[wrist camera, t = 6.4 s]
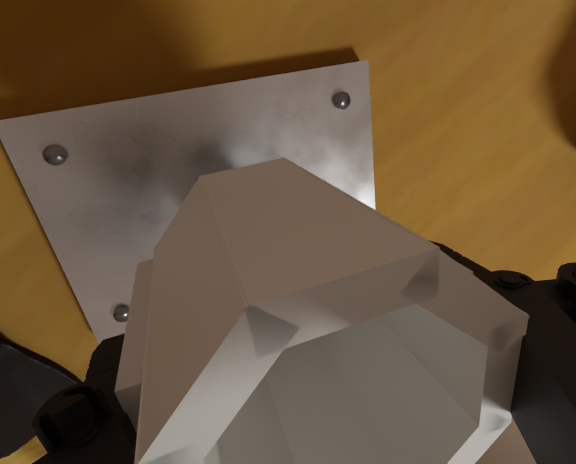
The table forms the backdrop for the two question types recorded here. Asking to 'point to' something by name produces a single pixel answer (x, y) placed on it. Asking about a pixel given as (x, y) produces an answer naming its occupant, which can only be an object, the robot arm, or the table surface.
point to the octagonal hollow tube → (316, 333)
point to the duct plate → (176, 165)
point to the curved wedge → (25, 392)
